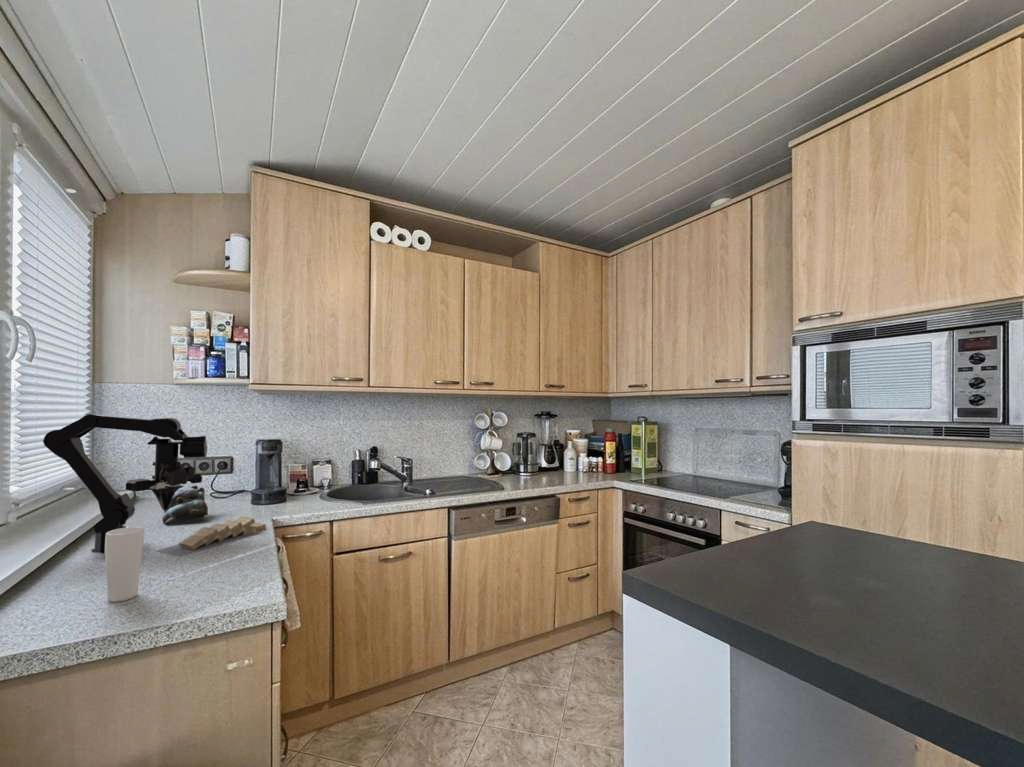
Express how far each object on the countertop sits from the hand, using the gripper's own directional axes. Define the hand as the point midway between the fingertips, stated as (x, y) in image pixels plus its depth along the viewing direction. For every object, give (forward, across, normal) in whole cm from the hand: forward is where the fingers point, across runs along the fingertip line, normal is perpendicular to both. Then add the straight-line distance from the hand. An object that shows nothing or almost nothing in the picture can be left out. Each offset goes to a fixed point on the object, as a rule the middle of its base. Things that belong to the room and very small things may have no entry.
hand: (164, 509), depth 145 cm
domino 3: (+9, +8, -11) cm, 17 cm away
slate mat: (+10, +8, -11) cm, 17 cm away
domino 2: (+9, +4, -11) cm, 15 cm away
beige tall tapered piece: (+11, -26, -35) cm, 45 cm away
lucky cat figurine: (+11, +19, +25) cm, 33 cm away
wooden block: (+9, +13, -11) cm, 19 cm away
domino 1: (+9, 0, -12) cm, 16 cm away
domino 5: (+9, +17, -10) cm, 22 cm away
